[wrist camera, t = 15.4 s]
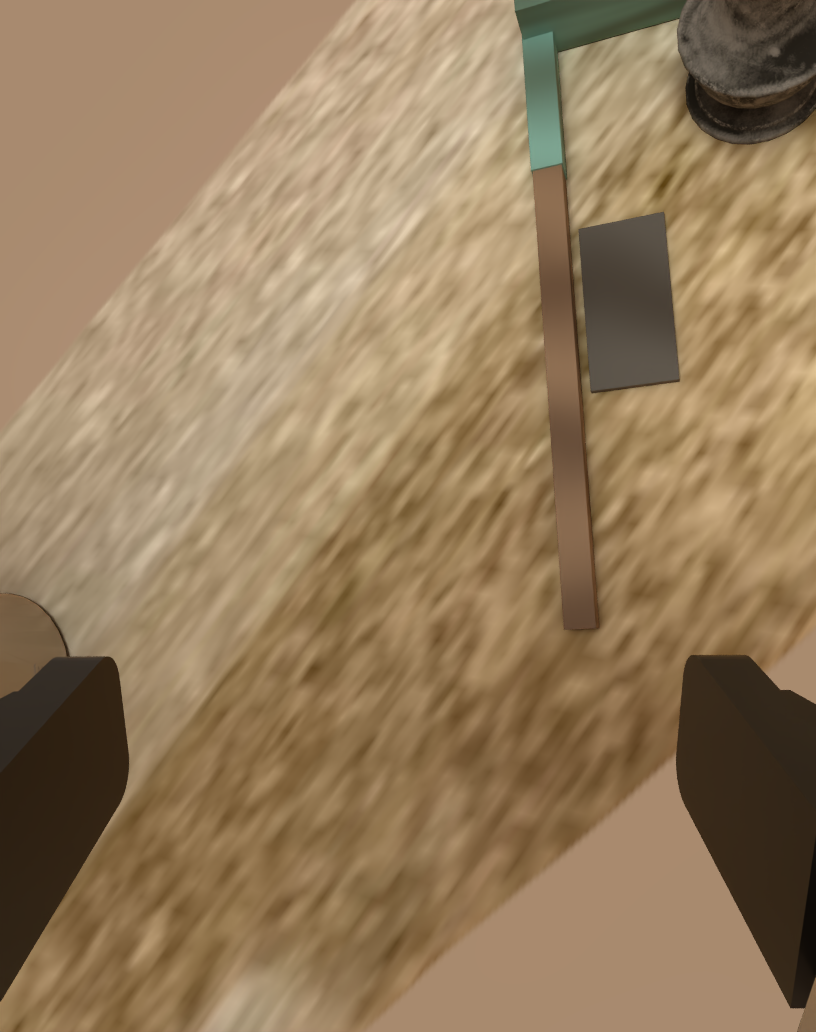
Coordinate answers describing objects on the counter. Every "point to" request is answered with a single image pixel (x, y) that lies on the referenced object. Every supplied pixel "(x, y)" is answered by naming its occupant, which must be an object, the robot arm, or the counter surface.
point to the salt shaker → (749, 66)
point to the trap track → (589, 278)
